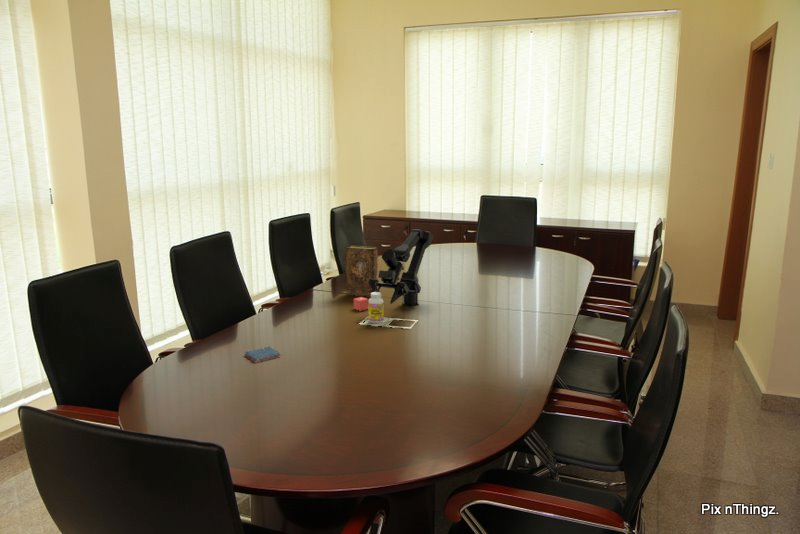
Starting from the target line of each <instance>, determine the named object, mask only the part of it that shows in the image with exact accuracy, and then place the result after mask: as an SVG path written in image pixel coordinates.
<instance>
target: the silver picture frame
mask: <svg viewBox="0 0 800 534" xmlns="http://www.w3.org/2000/svg"><path fill="white" fill-rule="evenodd" d="M393 320H394V321H399V320H403V321H402V322H411V321H412V322H411V323H412V324H411V325H410V327H407V326H397V325H395V326H394V325H391V324H392V323H393V322H394V321H393ZM364 321H365V322H364ZM392 321H393V322H392ZM363 322H364V323H363ZM391 322H392V323H391ZM418 322H419V320H417V319H416V320H415V319H408V318H407V319H405V318H403V319H402V318H394V317H393V318H392V317H384V321H383V322H381V323H371V322H369V315H368V316H366V317H365V318H364V319H363V320H361V321H360V322H359V323H358V325H359V324H360V325H359V326H367V325H371V326H370V327H378V326H382V327H381V328H390V327H392V328H393V329H401V328H403V330H412V329H413V328H414V327H415V326H416V325H417V324H418ZM390 323H391V324H390ZM389 324H390V325H389Z"/></svg>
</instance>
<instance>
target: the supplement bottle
mask: <svg viewBox="0 0 800 534" xmlns="http://www.w3.org/2000/svg"><path fill="white" fill-rule="evenodd" d="M384 303H385V302H384V299H383V297H382V292H381V291H379V292H372V293H371V297H369V298H368V307H369V309H368V316H369V318H368V319H369V322H371V323H381V322H383V321H384V318H385V316H384V313H385V312H384V311H385V306H384Z"/></svg>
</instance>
